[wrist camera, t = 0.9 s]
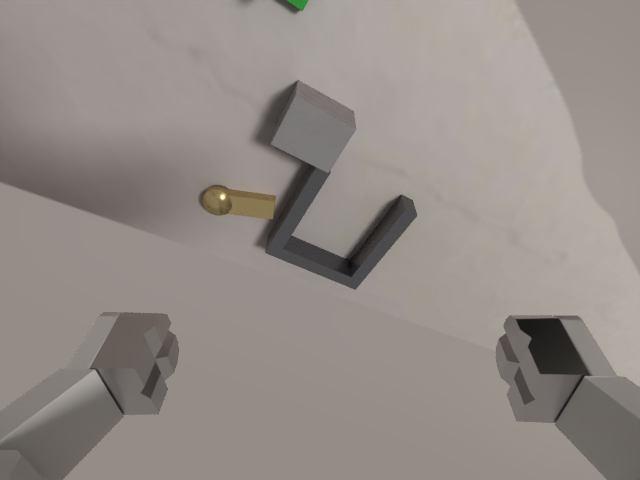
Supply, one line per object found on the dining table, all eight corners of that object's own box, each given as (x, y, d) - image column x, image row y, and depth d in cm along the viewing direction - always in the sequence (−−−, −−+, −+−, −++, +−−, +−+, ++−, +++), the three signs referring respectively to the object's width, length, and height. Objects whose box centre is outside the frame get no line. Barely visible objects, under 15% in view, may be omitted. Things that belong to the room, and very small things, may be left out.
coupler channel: (268, 236, 49) (265, 252, 47) (317, 152, 42) (316, 166, 40) (354, 273, 53) (355, 289, 50) (412, 200, 46) (417, 215, 43)
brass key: (205, 207, 47) (202, 213, 46) (204, 183, 45) (202, 188, 44) (273, 216, 47) (272, 222, 46) (276, 192, 45) (275, 198, 45)
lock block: (275, 124, 41) (270, 144, 37) (298, 79, 38) (295, 96, 35) (328, 152, 43) (328, 173, 39) (353, 110, 40) (356, 129, 36)
